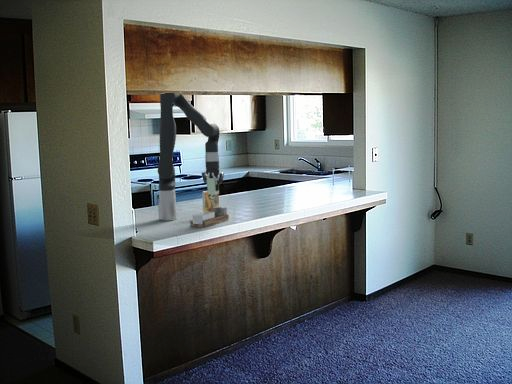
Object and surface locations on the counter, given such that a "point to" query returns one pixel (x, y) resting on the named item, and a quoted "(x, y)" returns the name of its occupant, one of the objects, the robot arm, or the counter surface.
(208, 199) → the candy box
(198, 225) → the channel
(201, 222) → the jaw
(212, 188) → the block
